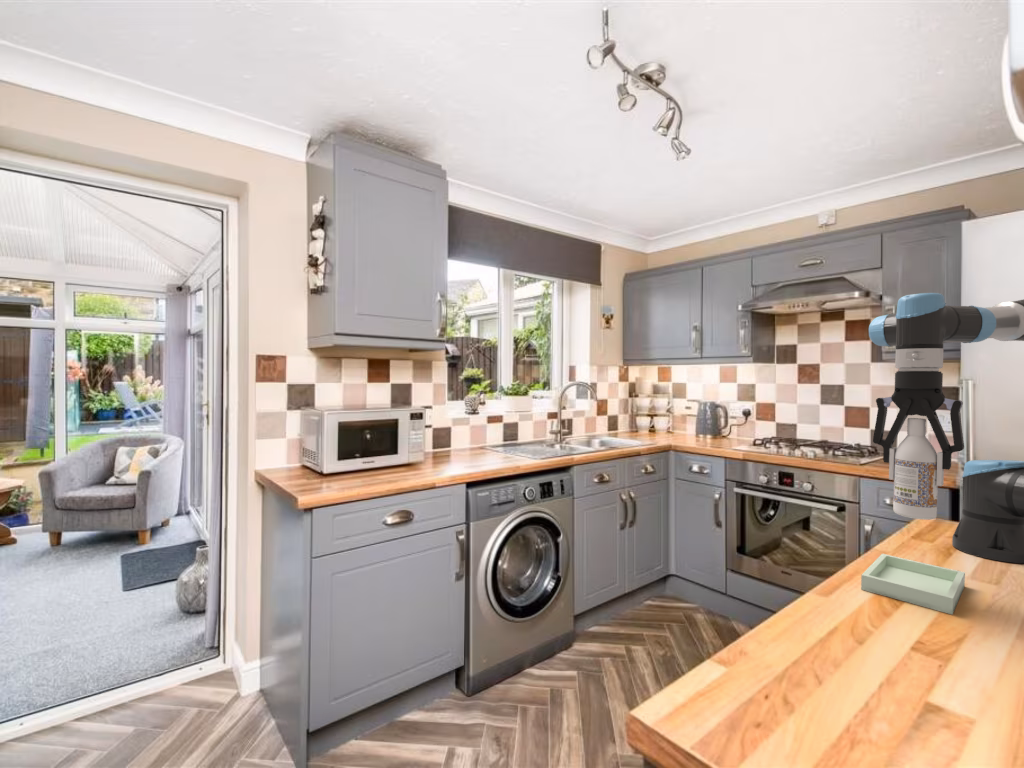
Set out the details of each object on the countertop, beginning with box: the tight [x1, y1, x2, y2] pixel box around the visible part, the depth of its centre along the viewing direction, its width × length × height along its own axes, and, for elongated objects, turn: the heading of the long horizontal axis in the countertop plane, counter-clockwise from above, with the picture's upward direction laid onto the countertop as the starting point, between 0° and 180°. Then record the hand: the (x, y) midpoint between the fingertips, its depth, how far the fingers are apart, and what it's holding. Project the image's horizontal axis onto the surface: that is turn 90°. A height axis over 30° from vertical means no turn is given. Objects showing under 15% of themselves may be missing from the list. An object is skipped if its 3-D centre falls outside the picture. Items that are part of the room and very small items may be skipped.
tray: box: [860, 553, 966, 616], centre depth 101 cm, size 18×14×3 cm
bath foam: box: [892, 417, 939, 520], centre depth 100 cm, size 7×7×20 cm
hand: (915, 481), depth 100 cm, fingers closed on bath foam, 7 cm apart
